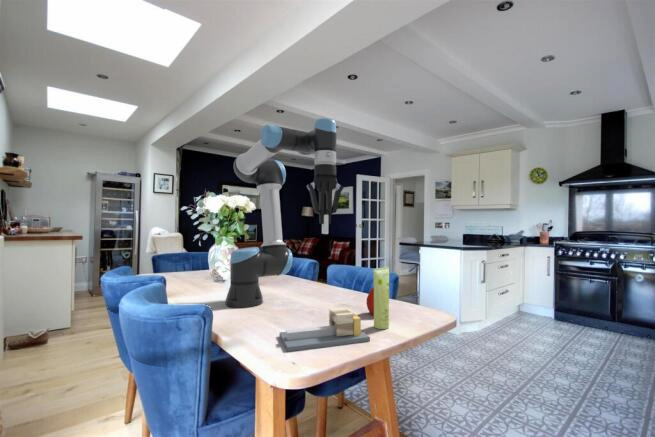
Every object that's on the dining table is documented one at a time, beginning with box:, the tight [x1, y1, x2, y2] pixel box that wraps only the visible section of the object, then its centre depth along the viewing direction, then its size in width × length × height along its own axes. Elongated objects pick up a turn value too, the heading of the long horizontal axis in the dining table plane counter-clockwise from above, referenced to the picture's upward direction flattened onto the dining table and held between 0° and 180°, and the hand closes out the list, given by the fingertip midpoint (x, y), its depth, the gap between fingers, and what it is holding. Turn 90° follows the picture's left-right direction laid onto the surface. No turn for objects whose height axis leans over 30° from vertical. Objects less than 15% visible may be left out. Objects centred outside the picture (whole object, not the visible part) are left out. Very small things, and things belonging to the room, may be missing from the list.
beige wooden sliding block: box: [328, 307, 354, 337], centre depth 94 cm, size 7×5×6 cm
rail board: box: [279, 310, 371, 353], centre depth 93 cm, size 12×24×6 cm, turn 109°
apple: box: [366, 286, 374, 316], centre depth 118 cm, size 8×8×11 cm
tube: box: [372, 266, 390, 330], centre depth 103 cm, size 6×5×20 cm
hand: (325, 233), depth 108 cm, fingers closed
